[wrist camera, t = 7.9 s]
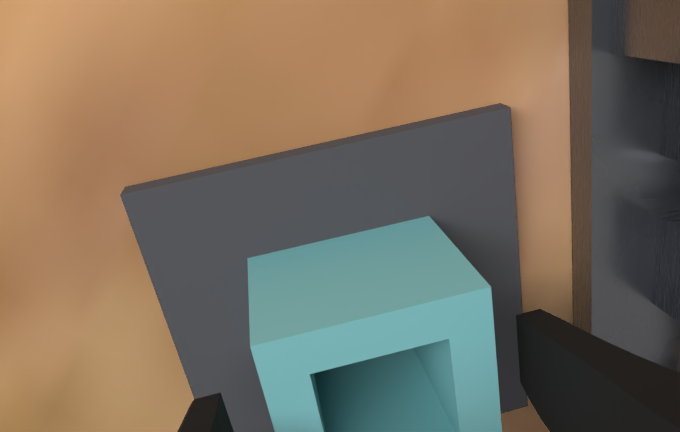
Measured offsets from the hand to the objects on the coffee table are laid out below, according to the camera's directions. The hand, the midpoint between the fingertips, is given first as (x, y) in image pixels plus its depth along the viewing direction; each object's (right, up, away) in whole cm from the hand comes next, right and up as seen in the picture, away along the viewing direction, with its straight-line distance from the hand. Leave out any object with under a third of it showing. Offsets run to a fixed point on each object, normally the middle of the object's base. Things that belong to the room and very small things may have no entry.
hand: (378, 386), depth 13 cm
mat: (-1, +1, +3) cm, 4 cm away
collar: (-1, +1, +3) cm, 3 cm away
